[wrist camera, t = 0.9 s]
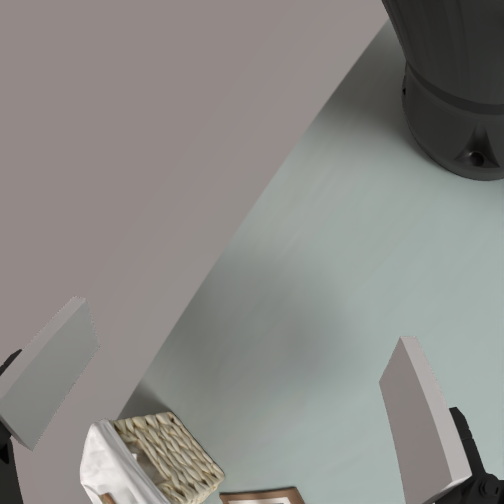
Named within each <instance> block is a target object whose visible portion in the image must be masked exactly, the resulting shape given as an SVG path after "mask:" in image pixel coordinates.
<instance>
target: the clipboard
mask: <svg viewBox="0 0 504 504" xmlns="http://www.w3.org/2000/svg"><path fill="white" fill-rule="evenodd" d="M219 497H220V499H221V500H222V502H223V504H305V503H304V501H303V499H302V497H301V496H300V494H299V492H298V490H297V488H296V487H295V488H288V489H281V490H273V491H263V492H251V493H235V494H220V495H219Z"/></svg>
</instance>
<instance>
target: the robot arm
mask: <svg viewBox="0 0 504 504" xmlns="http://www.w3.org/2000/svg"><path fill="white" fill-rule="evenodd" d="M382 2H383V4H384V7H385V9H386V11H387V13H388V15H389V18H390V20H391V22H392V24H393V27H394V29H395V32H396V34H397V37H398V39H399V42H400V44H401V47H402V50H403V52H404V55H405V58H406V67H405V77H404V80H403V85H402V103H403V109H404V112H405V115H406V119H407V122H408V125H409V127H410V130H411V132H412V134H413V136H414V138H415V139H416V141H417V142H418V144H419V145H420V146H421V148H422V149H423V150H424V151H425V152H426V153H427V154H428V155H429V156H430V157H431V158H432V159H433V160H434V161H436V162H437V163H438V164H440V165H441V166H443V167H444V168H446V169H448V170H449V171H451V172H453V173H455V174H458V175H460V176H463V177H466V178H470V179H475V180H484V181H490V180H499V179H503V178H504V0H382ZM99 347H100V345H99V341H98V338H97V335H96V331H95V328H94V324H93V320H92V317H91V313H90V309H89V305H88V301H87V299H83V298H80V297H75V296H74V297H73V298H72V299H71V300H70V301H69V302H68V303H67V304H66V305H65V306H64V307H63V308H62V309H61V310H60V311H59V312H58V313H57V314H56V315H55V316H54V317H53V318H52V319H51V320H50V321H49V322H48V323H47V324H46V325H45V326H44V328H43V329H42V330H41V331H40V332H39V333H38V334H37V335H36V336H35V337H34V338H33V339H32V341H30V343H29V344H28V345H27V346H26V347H25V348H24V349H23V350H21V349H20V350H18V351H16V352H15V353H13V354H12V355H10V357H9V358H8V359H7V360H6V361H5V362H4V365H2V366H1V367H0V504H23V500H22V496H21V492H20V487H19V482H18V477H17V472H16V466H15V460H14V453H13V445H12V442H11V440H10V437H11V435H12V436H13V437H14V438H15V439H16V440H17V441H18V442H19V443H20V444H22V445H23V446H25V447H27V448H28V449H29V450H31V451H33V449H34V448H35V446H36V444H37V443H38V441H39V439H40V437H41V436H42V434H43V432H44V431H45V429H46V428H47V426H48V424H49V423H50V421H51V419H52V418H53V416H54V415H55V413H56V411H57V410H58V408H59V407H60V405H61V403H62V402H63V401H64V399H65V397H66V396H67V394H68V393H69V391H70V390H71V388H72V387H73V385H74V384H75V382H76V381H77V379H78V378H79V376H80V375H81V373H82V372H83V370H84V369H85V368H86V366H87V365H88V363H89V362H90V360H91V359H92V357H93V356H94V355H95V353H96V352H97V350H98V349H99ZM379 384H380V388H381V392H382V395H383V399H384V403H385V407H386V411H387V415H388V419H389V423H390V427H391V431H392V435H393V440H394V444H395V449H396V453H397V458H398V463H399V468H400V473H401V478H402V484H403V489H404V495H405V501H406V504H433V503H434V502H435V504H504V480H498V478H497V477H496V476H494V475H493V474H488V473H486V472H485V469H484V467H483V464H482V461H481V458H480V455H479V453H478V450H477V447H476V444H475V442H474V439H472V434H471V431H470V430H469V426H468V424H467V421H466V419H465V416H464V415H463V414H462V413H461V412H460V411H459V410H458V408H457V407H453V408H448V406H447V403H446V401H445V399H444V396H443V394H442V391H441V389H440V387H439V385H438V382H437V380H436V378H435V376H434V373H433V371H432V369H431V367H430V365H429V363H428V360H427V358H426V356H425V354H424V352H423V350H422V348H421V346H420V344H419V342H418V340H417V338H416V337H406V336H400V338H399V341H398V343H397V345H396V347H395V350H394V352H393V354H392V356H391V358H390V360H389V363H388V365H387V367H386V369H385V371H384V373H383V375H382V377H381V379H380V381H379Z"/></svg>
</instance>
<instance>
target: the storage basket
mask: <svg viewBox="0 0 504 504" xmlns="http://www.w3.org/2000/svg"><path fill="white" fill-rule="evenodd" d="M173 418H174V420H173ZM80 478H81V480H80V482H81V484H82V485H83V487H84V489H85V490H86V492H87V494H88V495H89V497H90V499H91V501H92V502H93V504H108V503H107V501H106V500H105V498H104V497H103V496H102V494H105V493H107V492H110V493H112V494H113V496H114V497H115V498H116V500H117V501H118V503H119V504H200V503H201V502H203V501H204V500H205V499H206V498H207V497H208V496H209V495H210V494H211V493H212V492H214V491H215V490H217V488H218V486H219V483H221V482H222V481H223V480H224V479H225V476H224V473H223V472H222V470H221V469H220V468H219V467H218V466H217V465H216V464H215V463H214V462H213V460H212V459H211V458H210V457H209V456H208V455H207V454H206V453H205V452H204V450H203V449H202V447H201V446H200V445H199V444H198V443H197V441H196V440H195V439H194V438H193V437H192V435H191V434H190V433H189V432H188V431H187V430H186V429H185V428H184V426H183V424H182V423H181V421H180V420H179V419H178V418H177V417H176V416H175V415H174V414H173V413H172V412H166V413H157V414H156V415H146V416H141V417H140V416H136V417H133V418H131V419H130V418H127V419H120V420H117V421H109V420H108V419H106V418H105V419H102V420H100V421H99V422H95V423H93V424H92V425H91V427H90V429H89V432H88V435H87V438H86V442H85V446H84V452H83V457H82V461H81V465H80Z"/></svg>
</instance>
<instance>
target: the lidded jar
mask: <svg viewBox="0 0 504 504" xmlns="http://www.w3.org/2000/svg"><path fill="white" fill-rule="evenodd" d="M102 496H103V497H104V498H105V500H106V501H107V503H108V504H119V503H118V501H117V500H116V498H115V497H114V496H113V494H112V493H110V492H107V493H105V494H102Z"/></svg>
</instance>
